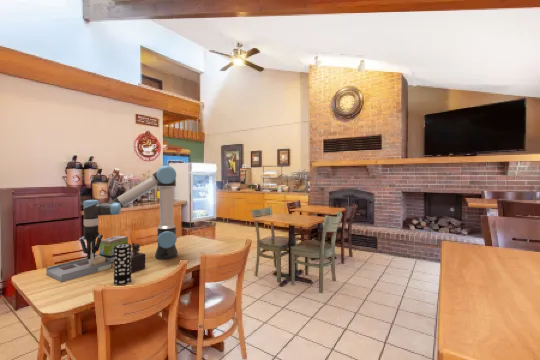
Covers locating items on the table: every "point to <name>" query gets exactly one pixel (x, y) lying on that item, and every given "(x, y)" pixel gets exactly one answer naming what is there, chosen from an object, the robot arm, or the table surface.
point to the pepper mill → (137, 259)
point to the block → (98, 260)
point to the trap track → (76, 269)
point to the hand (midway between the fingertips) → (91, 263)
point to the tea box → (111, 246)
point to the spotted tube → (122, 264)
